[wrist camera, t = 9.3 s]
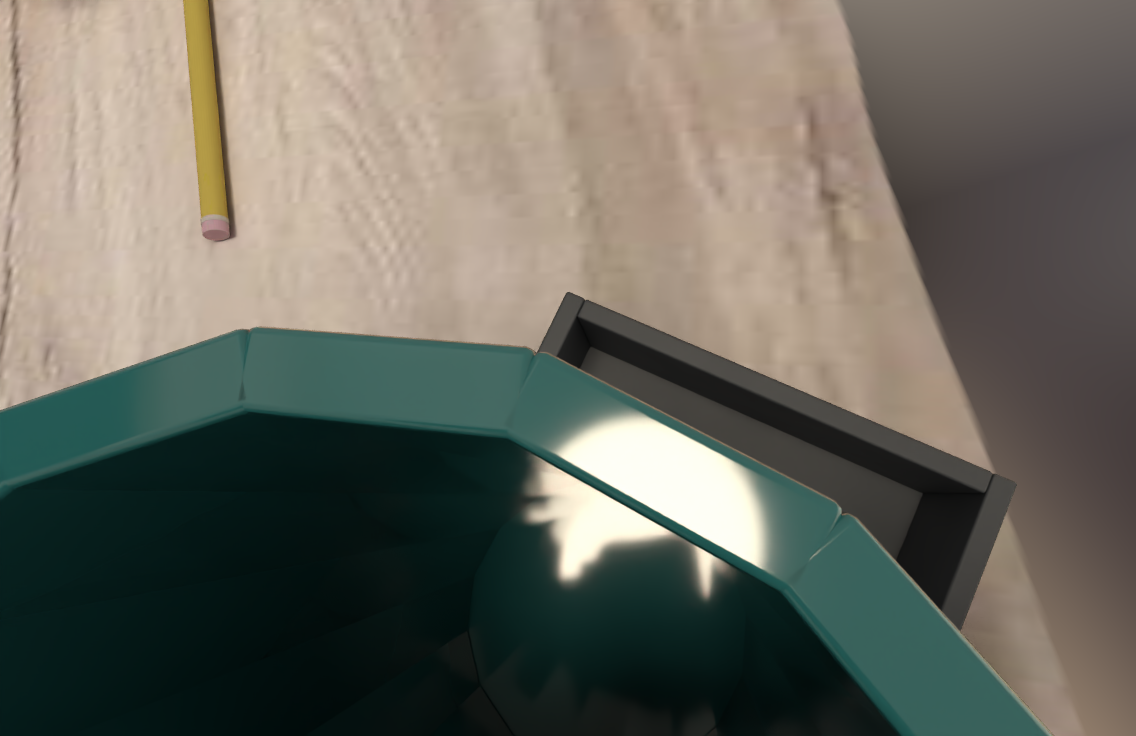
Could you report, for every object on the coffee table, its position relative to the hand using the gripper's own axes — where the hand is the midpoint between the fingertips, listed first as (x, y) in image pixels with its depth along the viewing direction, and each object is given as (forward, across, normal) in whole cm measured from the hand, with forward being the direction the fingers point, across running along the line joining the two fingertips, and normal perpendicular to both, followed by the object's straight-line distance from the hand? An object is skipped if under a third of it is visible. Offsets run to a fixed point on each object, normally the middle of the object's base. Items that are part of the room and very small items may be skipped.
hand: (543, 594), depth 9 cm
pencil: (+24, +15, -5) cm, 29 cm away
